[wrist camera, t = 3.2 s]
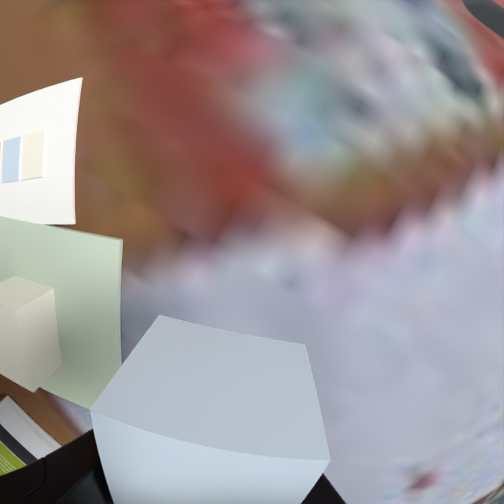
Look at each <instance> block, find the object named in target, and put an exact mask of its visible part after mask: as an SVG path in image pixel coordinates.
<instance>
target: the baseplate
mask: <svg viewBox="0 0 504 504" xmlns="http://www.w3.org/2000/svg"><path fill="white" fill-rule="evenodd" d="M122 248H123V239H119V238H114V237H109V236H104V235H98V234H93V233H88V232H83V231H78V230H72V229H67V228H62V227H57V226H52V225H47V224H38V223H33V222H28V221H23V220H18V219H13V218H8V217H3V216H0V282H2V281H4V280H6V279H9V278H11V277H13V276H15V275H16V276H19V277H21V278H24V279H27V280H30V281H33V282H36V283H39V284H42V285H45V286H48V287H51V288H54V299H55V311H56V321H57V329H58V337H59V344H60V351H61V357H62V364H61V365H60V366H59V367H58V368H57V369H56V370H55V371H54V372H53V373H52V374H51V375H50V377H49V378H48V379H47V380H46V381H45V382H44V383H43V384H42V385H41V386H40V388H42V389H44V390H46V391H48V392H50V393H53V394H55V395H57V396H59V397H61V398H63V399H66V400H68V401H70V402H72V403H75V404H77V405H79V406H82V407H84V408H87V409H89V410H90V409H91V407H92V406H93V404H94V403H95V402H96V400H97V399H98V397H99V396H100V395H101V393H102V392H103V390H104V389H105V388H106V386H107V385H108V383H109V382H110V381H111V379H112V378H113V376H114V375H115V374H116V372H117V371H118V370H119V368H120V367H121V365H122V355H121V320H120V302H121V266H122Z"/></svg>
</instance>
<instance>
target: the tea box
mask: <svg viewBox="0 0 504 504" xmlns="http://www.w3.org/2000/svg"><path fill="white" fill-rule="evenodd" d="M60 447H62V446H61V445H60V444H59V443H57V442H56V441H55V440H54V439H53V438H52V437H51V436H49V435H48V434H47V433H46V432H45V431H44V430H43V429H42V428H41V427H40V426H39V425H37V424H36V423H35V422H34V421H33V420H32V419H31V418H30V417H29V416H28V415H27V414H26V413H25V412H24V411H23V410H22V409H21V408H20V407H19V406H18V405H17V404H16V403H15V402H14V401H13V400H12V399H11V398H10V397H9V396H6V397H5V398H4V399H3V400H2V401H1V402H0V475H3V474H6V473H9V472H11V471H14V470H17V469H19V468H22V467H24V466H26V465H28V464H30V463H32V462H34V461H36V460H38V459H40V458H42V457H45V456H46V455H47V454H49V453H51V452H53V451H55V450H56V449H58V448H60Z"/></svg>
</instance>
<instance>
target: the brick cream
mask: <svg viewBox="0 0 504 504" xmlns="http://www.w3.org/2000/svg"><path fill="white" fill-rule="evenodd" d="M61 364H62V357H61V351H60V344H59V337H58V329H57V321H56V311H55V299H54V288H51V287H48V286H45V285H42V284H39V283H36V282H33V281H30V280H27V279H24V278H21V277H19V276H16V275H15V276H13V277H11V278H9V279H6V280H4V281H2V282H0V374H2V375H3V376H5V377H7V378H8V379H10V380H12V381H13V382H15V383H17V384H19V385H20V386H22V387H24V388H26V389H28V390H29V391H31V392H33V393H34V392H35V391H36V390H37V389H38V388H39V387H40V386H41V385H42V384H43V383H44V382H45V381H46V380H47V379H48V378H49V377H50V375H51V374H52V373H53V372H54V371H55V370H56V369H57V368H58V367H59V366H60V365H61Z"/></svg>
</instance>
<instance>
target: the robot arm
mask: <svg viewBox="0 0 504 504" xmlns="http://www.w3.org/2000/svg"><path fill="white" fill-rule="evenodd" d="M0 504H114V502H113V499H112V496H111V493H110V490H109V487H108V484H107V481H106V477H105V474H104V471H103V467H102V463H101V460H100V456H99V452H98V448H97V444H96V439H95V435H94V430H93V429H91V430H89V431H88V432H86V433H84V434H83V435H81V436H79V437H78V438H76V439H74V440H72V441H71V442H69V443H67V444H65V445H64V446H62V447H60V448H58V449H56V450H55V451H53V452H51V453H49V454H47V455H46V456H45V457H42V458H40V459H38V460H36V461H34V462H32V463H30V464H28V465H26V466H24V467H22V468H19V469H17V470H14V471H11V472H9V473H6V474H3V475H0ZM301 504H346V503H345V501H344V500H343V499H342V498H341V496H340V495H339V494H338V492H337V491H336V490H335V488H334V487H333V486H332V484H331V483H330V482H329V480H328V479H327V478H326V476H325V475H324V474H323V473H322V475H321V476H320V478H319V479H318V480H317V482H316V483H315V485H314V486H313V488H312V489H311V490H310V492H309V493H308V495H307V496H306V497H305V499H304V500H303V501H302V503H301Z"/></svg>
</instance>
